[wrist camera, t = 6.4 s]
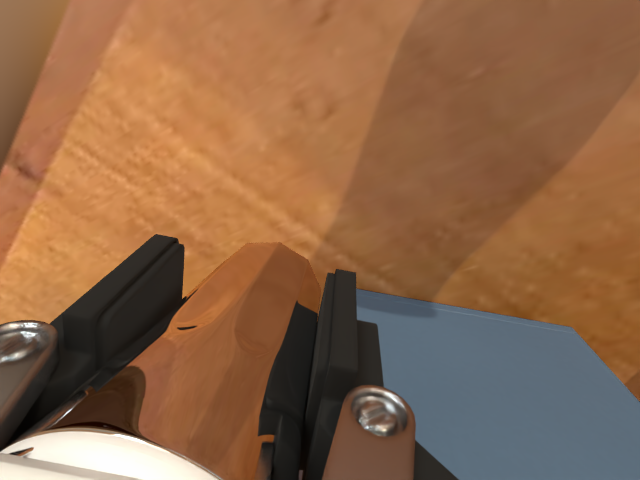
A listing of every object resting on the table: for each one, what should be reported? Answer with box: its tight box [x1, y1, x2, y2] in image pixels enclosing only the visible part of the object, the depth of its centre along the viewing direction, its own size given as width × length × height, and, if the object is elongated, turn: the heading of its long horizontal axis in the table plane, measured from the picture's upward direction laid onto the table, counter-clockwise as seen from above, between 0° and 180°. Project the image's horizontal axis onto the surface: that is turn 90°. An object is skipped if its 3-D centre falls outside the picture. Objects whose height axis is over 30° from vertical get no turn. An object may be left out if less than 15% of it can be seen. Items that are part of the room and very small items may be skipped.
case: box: [299, 289, 640, 480], centre depth 23 cm, size 16×14×13 cm
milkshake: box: [0, 242, 321, 480], centre depth 8 cm, size 4×5×10 cm
